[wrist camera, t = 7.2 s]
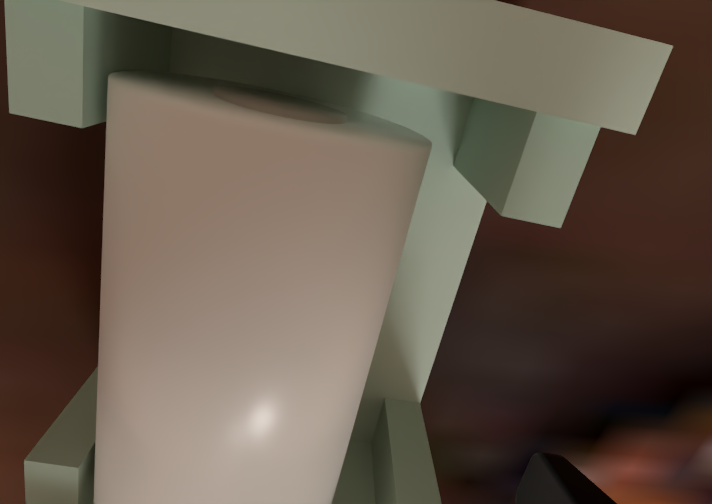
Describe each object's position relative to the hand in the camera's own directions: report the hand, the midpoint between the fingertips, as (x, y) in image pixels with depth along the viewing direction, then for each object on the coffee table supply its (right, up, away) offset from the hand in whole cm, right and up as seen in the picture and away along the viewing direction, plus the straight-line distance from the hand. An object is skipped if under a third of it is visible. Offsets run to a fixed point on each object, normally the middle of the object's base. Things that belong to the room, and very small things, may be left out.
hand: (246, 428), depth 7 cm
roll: (-1, +1, +3) cm, 3 cm away
